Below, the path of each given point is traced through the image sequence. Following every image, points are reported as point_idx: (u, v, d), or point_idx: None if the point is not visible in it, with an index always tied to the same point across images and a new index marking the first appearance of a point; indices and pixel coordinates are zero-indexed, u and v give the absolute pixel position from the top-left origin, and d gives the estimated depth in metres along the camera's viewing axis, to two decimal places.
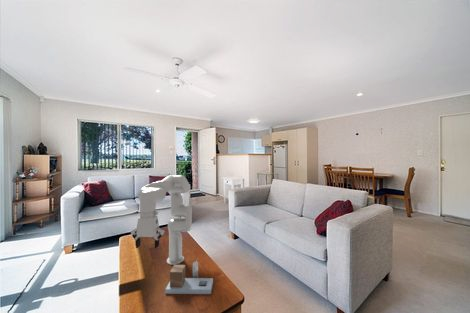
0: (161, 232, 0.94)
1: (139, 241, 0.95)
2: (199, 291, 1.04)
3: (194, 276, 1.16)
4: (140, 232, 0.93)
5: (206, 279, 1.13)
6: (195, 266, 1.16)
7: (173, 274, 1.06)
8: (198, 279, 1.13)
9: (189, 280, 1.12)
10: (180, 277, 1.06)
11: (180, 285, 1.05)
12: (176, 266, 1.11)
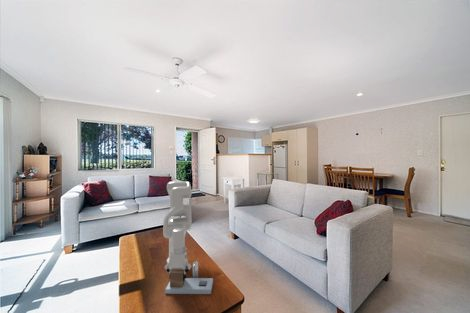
0: (189, 267, 1.09)
1: None
2: (199, 291, 1.04)
3: (194, 276, 1.16)
4: (172, 266, 1.07)
5: (206, 279, 1.13)
6: (195, 266, 1.16)
7: (173, 274, 1.06)
8: (198, 279, 1.13)
9: (189, 280, 1.12)
10: (180, 277, 1.06)
11: (180, 285, 1.05)
12: None
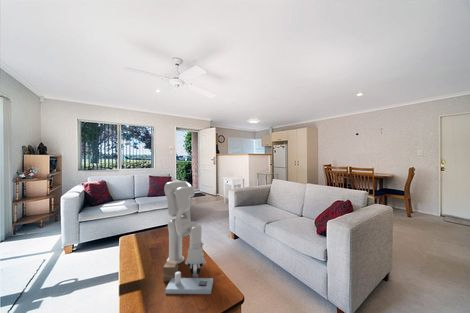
0: (203, 262, 1.17)
1: None
2: (199, 291, 1.04)
3: (194, 276, 1.16)
4: (190, 260, 1.16)
5: (206, 279, 1.13)
6: (195, 266, 1.16)
7: (166, 269, 1.15)
8: (198, 279, 1.13)
9: (189, 280, 1.12)
10: (172, 272, 1.15)
11: None
12: (169, 262, 1.20)
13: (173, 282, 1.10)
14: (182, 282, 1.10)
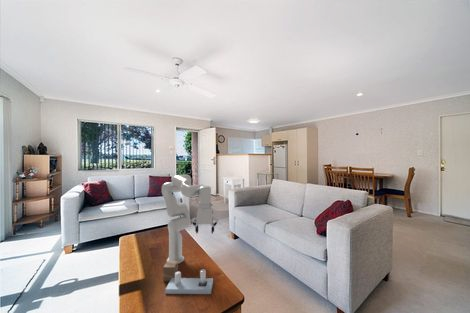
0: (216, 220, 1.15)
1: None
2: (199, 291, 1.04)
3: None
4: (200, 220, 1.14)
5: (206, 279, 1.13)
6: (202, 275, 1.07)
7: (166, 269, 1.15)
8: (198, 279, 1.13)
9: (189, 280, 1.12)
10: (172, 272, 1.15)
11: None
12: (169, 262, 1.20)
13: (173, 282, 1.10)
14: (182, 282, 1.10)
